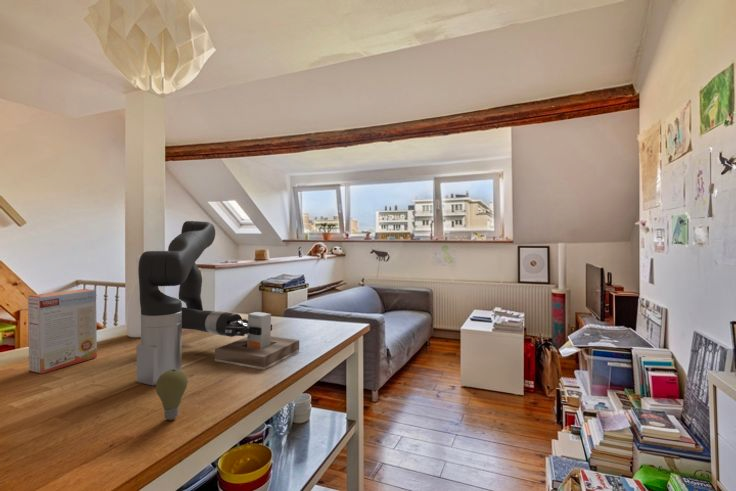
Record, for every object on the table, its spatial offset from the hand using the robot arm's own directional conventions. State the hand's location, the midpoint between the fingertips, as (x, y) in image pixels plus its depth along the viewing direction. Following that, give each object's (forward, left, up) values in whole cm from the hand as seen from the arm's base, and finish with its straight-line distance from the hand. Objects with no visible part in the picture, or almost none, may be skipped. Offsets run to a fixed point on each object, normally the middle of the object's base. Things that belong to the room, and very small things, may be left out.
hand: (266, 329), depth 107 cm
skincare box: (0, +3, -7) cm, 8 cm away
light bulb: (-38, -6, -9) cm, 40 cm away
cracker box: (-28, +49, -9) cm, 57 cm away
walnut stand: (0, +3, -8) cm, 9 cm away
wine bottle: (+2, +59, -9) cm, 59 cm away
